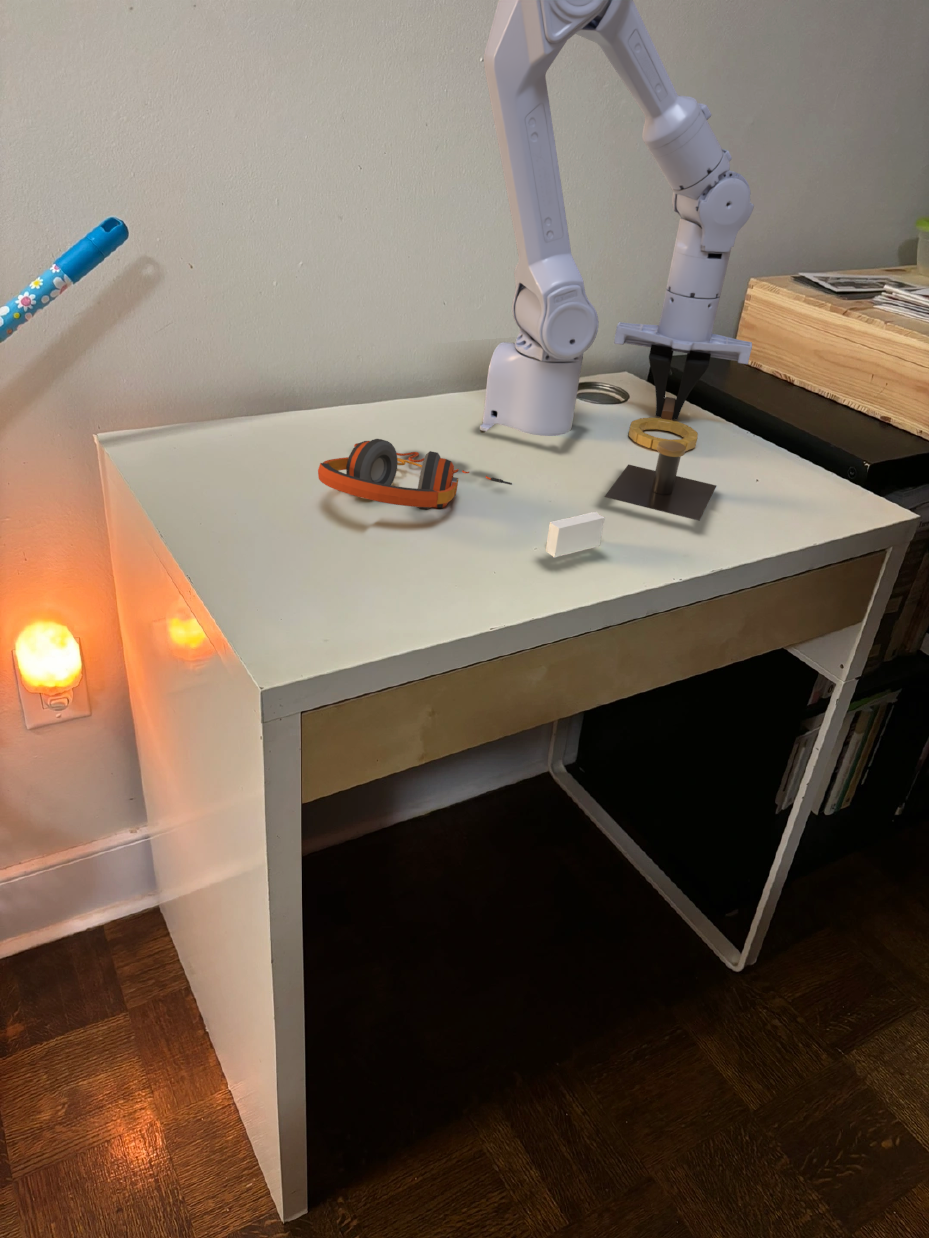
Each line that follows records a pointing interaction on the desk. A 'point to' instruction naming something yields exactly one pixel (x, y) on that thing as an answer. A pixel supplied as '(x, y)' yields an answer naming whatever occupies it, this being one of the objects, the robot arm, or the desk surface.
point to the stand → (663, 486)
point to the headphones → (391, 476)
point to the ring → (662, 428)
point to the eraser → (574, 534)
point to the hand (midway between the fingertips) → (666, 415)
